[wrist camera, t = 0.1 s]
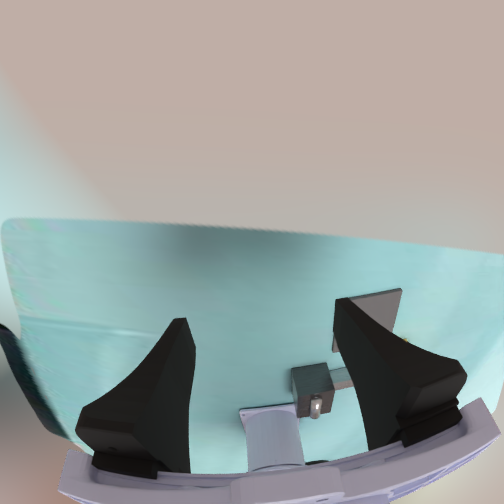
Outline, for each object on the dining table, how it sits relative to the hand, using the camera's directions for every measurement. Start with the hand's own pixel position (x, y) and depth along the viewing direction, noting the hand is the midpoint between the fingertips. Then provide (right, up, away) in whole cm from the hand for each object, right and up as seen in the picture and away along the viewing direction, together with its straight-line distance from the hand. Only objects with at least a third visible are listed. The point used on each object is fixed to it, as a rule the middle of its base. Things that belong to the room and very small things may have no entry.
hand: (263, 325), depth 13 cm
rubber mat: (+11, -4, +14) cm, 18 cm away
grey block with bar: (+13, -11, +17) cm, 24 cm away
